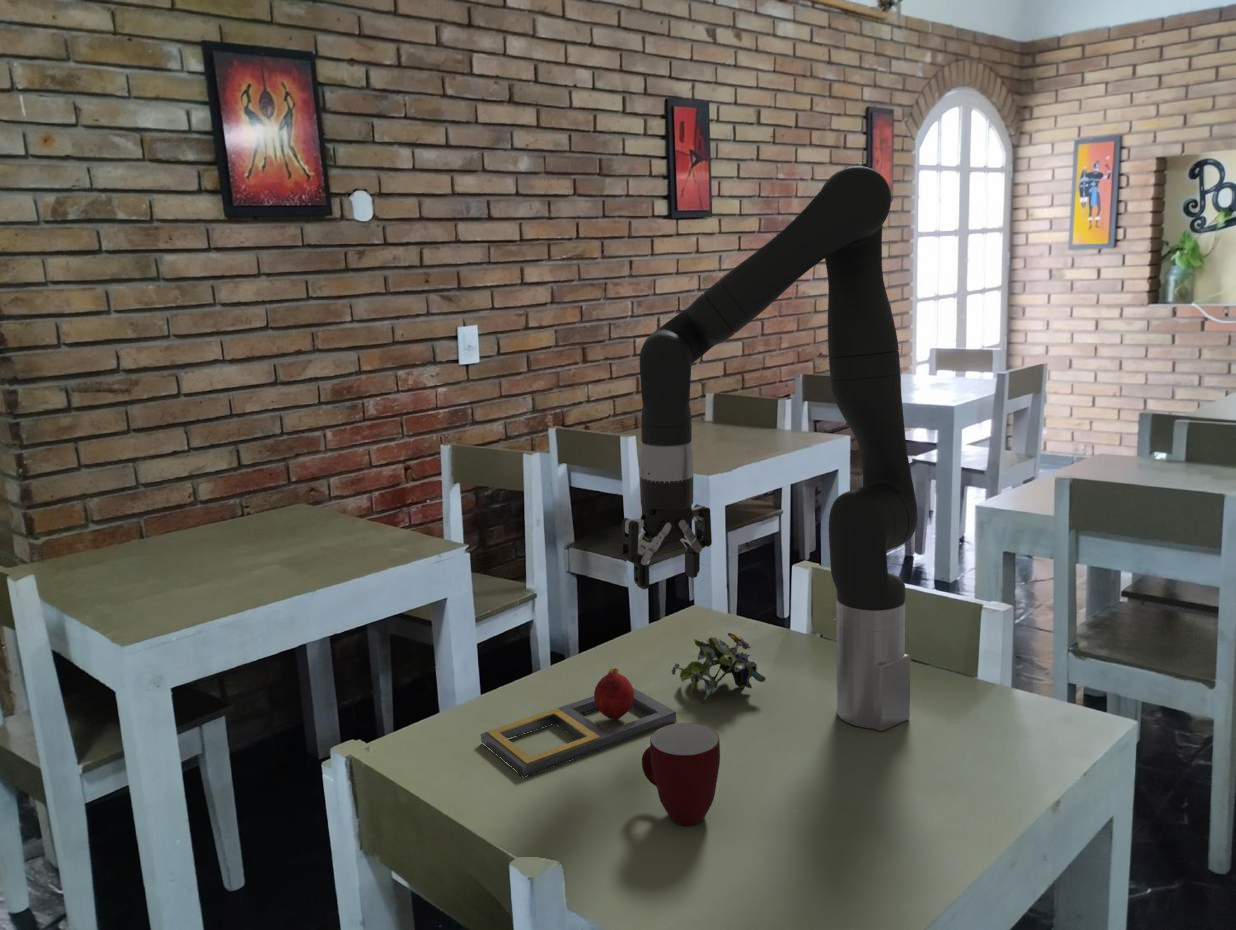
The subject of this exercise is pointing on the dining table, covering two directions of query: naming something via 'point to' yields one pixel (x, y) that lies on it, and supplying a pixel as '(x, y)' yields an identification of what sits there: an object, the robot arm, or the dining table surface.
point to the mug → (684, 769)
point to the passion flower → (726, 659)
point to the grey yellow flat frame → (573, 733)
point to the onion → (614, 695)
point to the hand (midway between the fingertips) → (667, 581)
